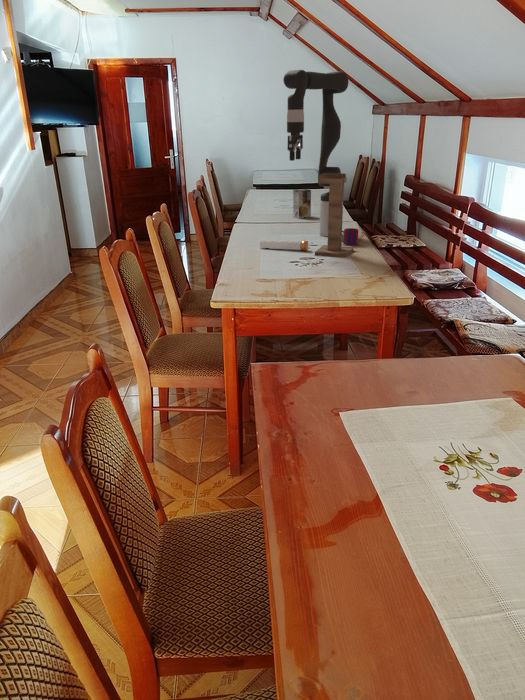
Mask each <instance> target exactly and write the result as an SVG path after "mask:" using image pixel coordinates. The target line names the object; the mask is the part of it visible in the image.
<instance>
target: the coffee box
mask: <svg viewBox="0 0 525 700" xmlns="http://www.w3.org/2000/svg"><path fill="white" fill-rule="evenodd" d="M292 193H293V195H292V198H293V199H292V202H293V203H292V204H293V205H292V207H293V209H292V211H293V213H292V215H293V218H295V217H296V218H295V219H304V217H306V218H311V217H312V213H311V212H312V208H311V207H312V190H311V189H309V188H301V189H294V190H292ZM310 216H311V217H310Z"/></svg>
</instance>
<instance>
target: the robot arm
mask: <svg viewBox="0 0 525 700" xmlns="http://www.w3.org/2000/svg"><path fill="white" fill-rule="evenodd" d="M283 84H284V86H285V87H286V88H288V89H290V90H294V93H293V94H290V95H289V96H288V97H287V113H286V132H287V133H288V134H290V135H287V148H286V149H287V151H288V152H289V161H291V162H292V161H295V160H301V159H302V158H301V156H302V153H301V152H302V149H303V148H304V146H303V143H304V142H303V137H304V136H303V134H301V133H304V131H305V112H304V108H305V107H304V103H305V102H304V100H305V96H306V91H307V90H322V91H321V92H322V119H321V129H320V130H321V134H320V154H319V155H320V156H319V164H318V172H317V179H318V178H319V174H322V173H339V174H342V172H341V168H340V167H338V166H327V165H328V160H329V158H330V155H331V154H332V152H333V150H334V149H336V148H335V147H337V145H338V144H339V141H340V138H341V129H342V128H341V127H342V121H341V120H340V117H339V115H338V112H337V110H336V109H335V105H334V94H342V93H344V92H346V91H347V89H348V87H349V77H348V75H347V73H346V72H344V71H343V70H342V71H331V72H326V73H325V72H324V73H323V72H317V71H306V70H304V69H295V70H289V71H286V73H284V75H283ZM318 185H319V186H320V187H329V184H318ZM328 216H329V191H328V192H325V193H322V194H321V195H320V211H319V236H321V237H328Z"/></svg>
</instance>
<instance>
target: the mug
mask: <svg viewBox="0 0 525 700" xmlns="http://www.w3.org/2000/svg"><path fill="white" fill-rule="evenodd" d="M342 234H343V239H342V243H343V245H344V244H345V245H344V246H357V245H358V243H359V229H358V228H353V227H351V228H349V227H348V228H344V230H342Z"/></svg>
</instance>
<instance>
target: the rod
mask: <svg viewBox="0 0 525 700" xmlns="http://www.w3.org/2000/svg"><path fill="white" fill-rule="evenodd" d="M265 248H269V249H270V250H273V249H274V250H296V251H297V250H300V251H301V250H302V251H303V252H304V251H305V252H307V251H308V250H309V242H308V240H301V241H294V240H293V241H291V240H290V241H289V240H288V241H287V240H261V241H259V249H265Z"/></svg>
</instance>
